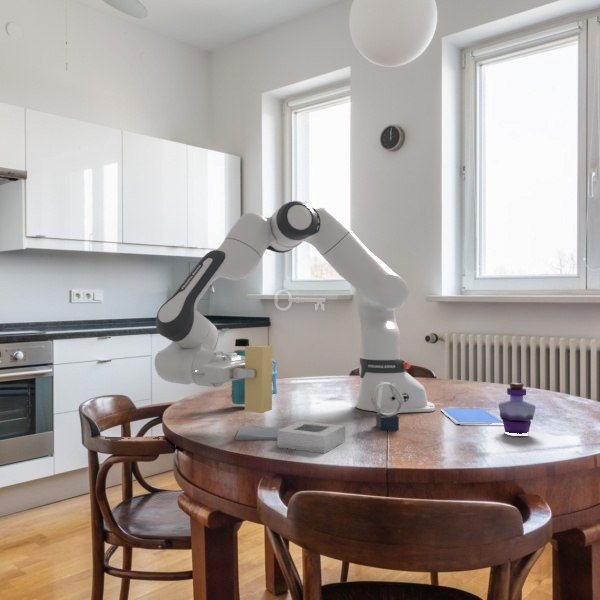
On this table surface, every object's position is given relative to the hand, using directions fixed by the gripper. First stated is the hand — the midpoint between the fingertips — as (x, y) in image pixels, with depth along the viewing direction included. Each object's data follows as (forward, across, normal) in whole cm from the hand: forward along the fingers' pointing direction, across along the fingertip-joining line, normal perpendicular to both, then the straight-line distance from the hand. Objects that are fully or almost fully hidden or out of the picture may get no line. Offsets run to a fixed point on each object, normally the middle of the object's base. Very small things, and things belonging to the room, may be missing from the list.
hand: (262, 372), depth 134 cm
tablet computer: (+40, +42, +15) cm, 60 cm away
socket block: (+14, -2, +14) cm, 20 cm away
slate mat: (-1, 0, +15) cm, 15 cm away
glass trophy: (+24, +20, +15) cm, 35 cm away
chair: (-29, +52, +15) cm, 61 cm away
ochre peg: (-1, 0, +9) cm, 9 cm away
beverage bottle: (-22, +26, +15) cm, 37 cm away
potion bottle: (+53, +27, +14) cm, 61 cm away
